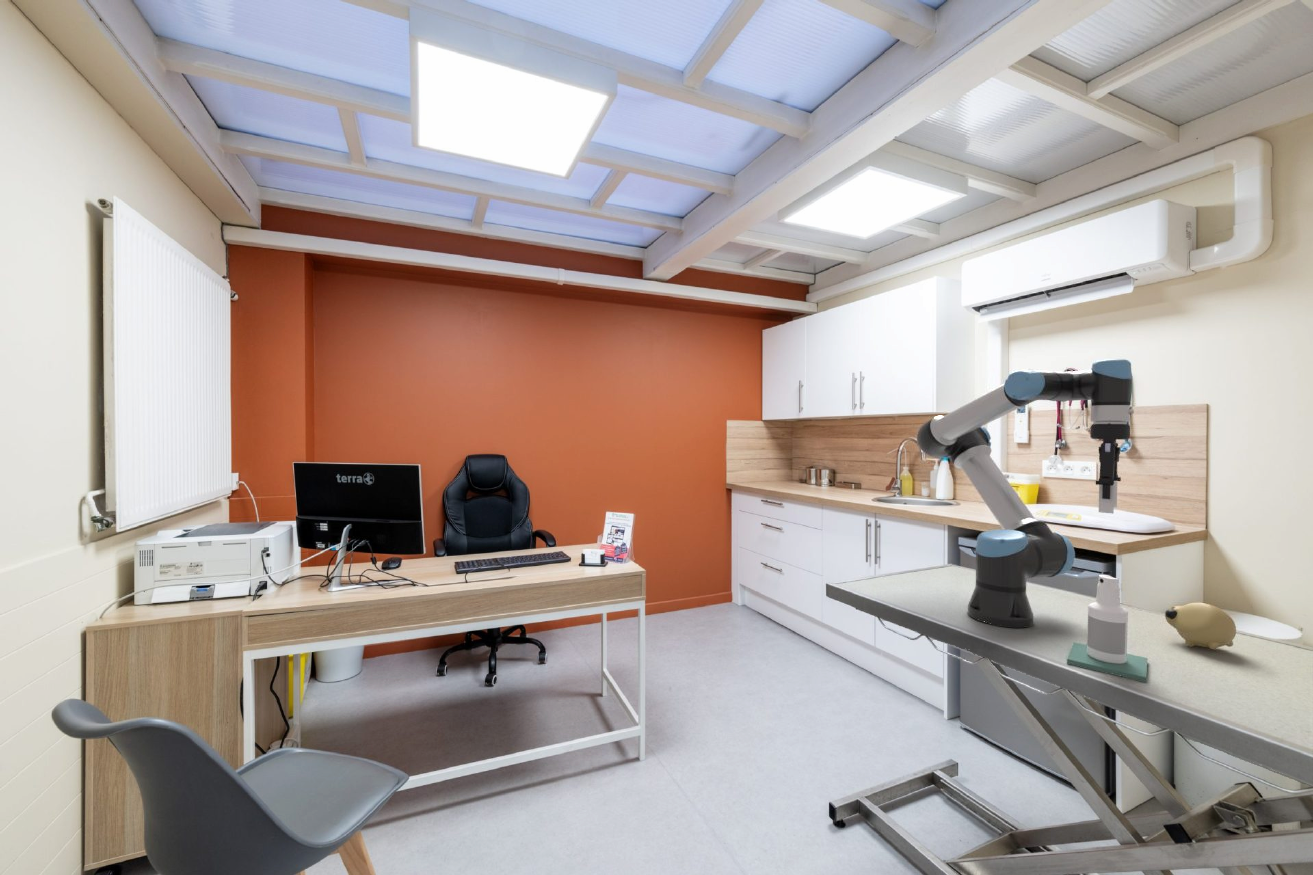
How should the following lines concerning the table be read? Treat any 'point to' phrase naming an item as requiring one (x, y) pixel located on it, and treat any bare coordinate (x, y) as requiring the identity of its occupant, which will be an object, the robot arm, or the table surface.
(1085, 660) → the mat
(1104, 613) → the spray bottle
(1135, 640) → the table surface
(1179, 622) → the toy pig
